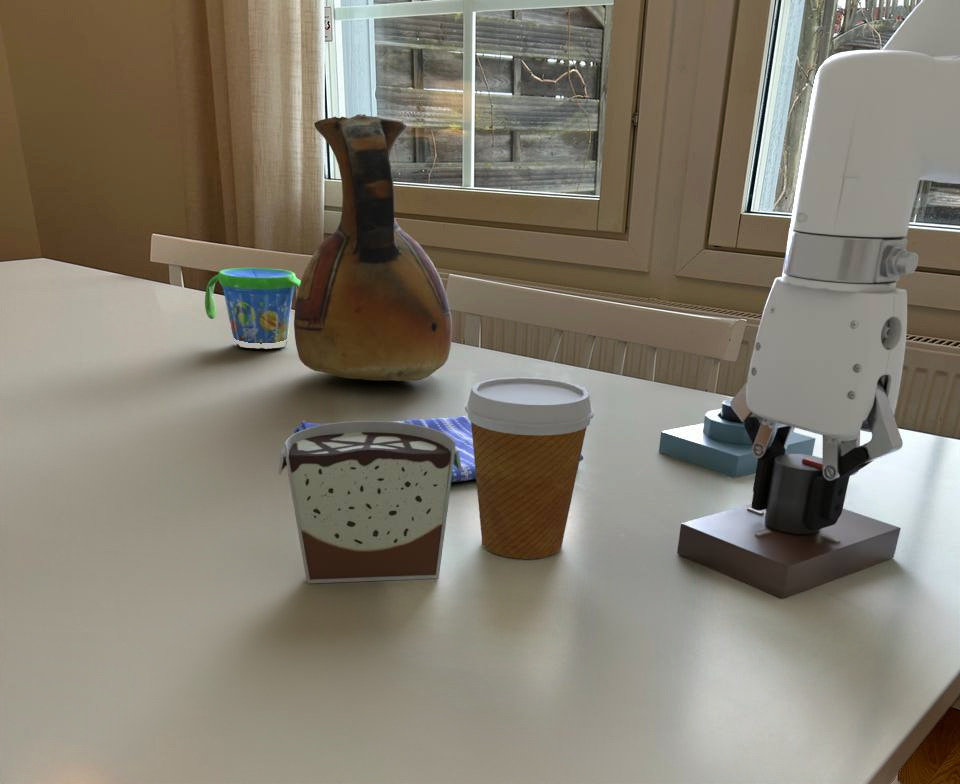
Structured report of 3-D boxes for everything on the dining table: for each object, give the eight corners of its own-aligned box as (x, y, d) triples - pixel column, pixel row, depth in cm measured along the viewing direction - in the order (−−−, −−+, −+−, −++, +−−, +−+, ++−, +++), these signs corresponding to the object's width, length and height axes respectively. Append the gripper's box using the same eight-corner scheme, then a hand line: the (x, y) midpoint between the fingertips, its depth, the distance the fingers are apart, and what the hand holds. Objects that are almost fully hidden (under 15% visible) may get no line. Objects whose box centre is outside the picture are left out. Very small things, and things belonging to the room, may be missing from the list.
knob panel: (788, 519, 84) (794, 489, 83) (893, 557, 77) (901, 525, 76) (676, 553, 76) (681, 521, 75) (782, 599, 69) (788, 564, 68)
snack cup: (327, 344, 145) (324, 271, 140) (294, 358, 136) (289, 280, 131) (232, 335, 149) (226, 264, 144) (194, 348, 140) (187, 272, 135)
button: (737, 414, 101) (740, 397, 101) (769, 423, 99) (772, 405, 98) (711, 419, 99) (714, 401, 98) (743, 428, 96) (746, 410, 96)
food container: (447, 545, 76) (449, 417, 72) (459, 577, 71) (462, 441, 66) (285, 551, 74) (277, 419, 70) (285, 584, 69) (276, 444, 64)
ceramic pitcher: (431, 361, 137) (433, 118, 123) (469, 396, 120) (477, 117, 106) (288, 365, 132) (274, 111, 118) (307, 401, 115) (293, 110, 101)
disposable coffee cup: (436, 540, 77) (438, 386, 72) (522, 514, 83) (529, 370, 77) (521, 578, 71) (531, 413, 65) (607, 548, 77) (623, 394, 71)
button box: (734, 436, 107) (740, 399, 105) (811, 459, 100) (819, 420, 98) (658, 452, 101) (663, 413, 99) (735, 478, 94) (741, 437, 92)
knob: (752, 521, 76) (763, 454, 73) (786, 511, 78) (798, 446, 76) (797, 538, 73) (810, 469, 70) (831, 527, 75) (845, 460, 73)
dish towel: (290, 447, 98) (288, 419, 97) (500, 425, 108) (501, 400, 106) (350, 501, 84) (349, 469, 83) (584, 470, 94) (586, 441, 93)
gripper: (989, 275, 63) (920, 541, 71) (776, 247, 75) (739, 479, 83) (924, 281, 59) (859, 563, 67) (710, 251, 71) (677, 494, 79)
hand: (793, 514), depth 75 cm, fingers closed on knob, 4 cm apart
